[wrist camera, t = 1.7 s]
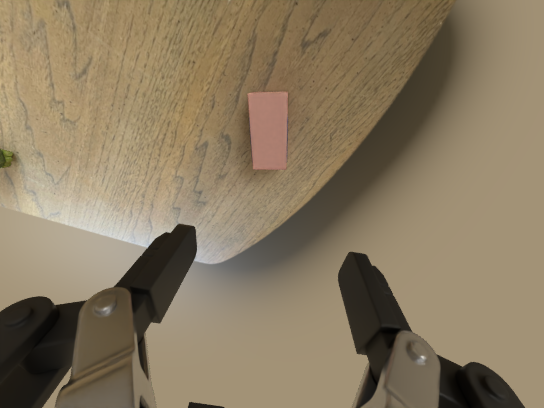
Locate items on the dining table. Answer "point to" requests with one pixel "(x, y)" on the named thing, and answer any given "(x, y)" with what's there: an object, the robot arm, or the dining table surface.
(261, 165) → the eraser
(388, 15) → the dining table surface
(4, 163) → the vegetable
